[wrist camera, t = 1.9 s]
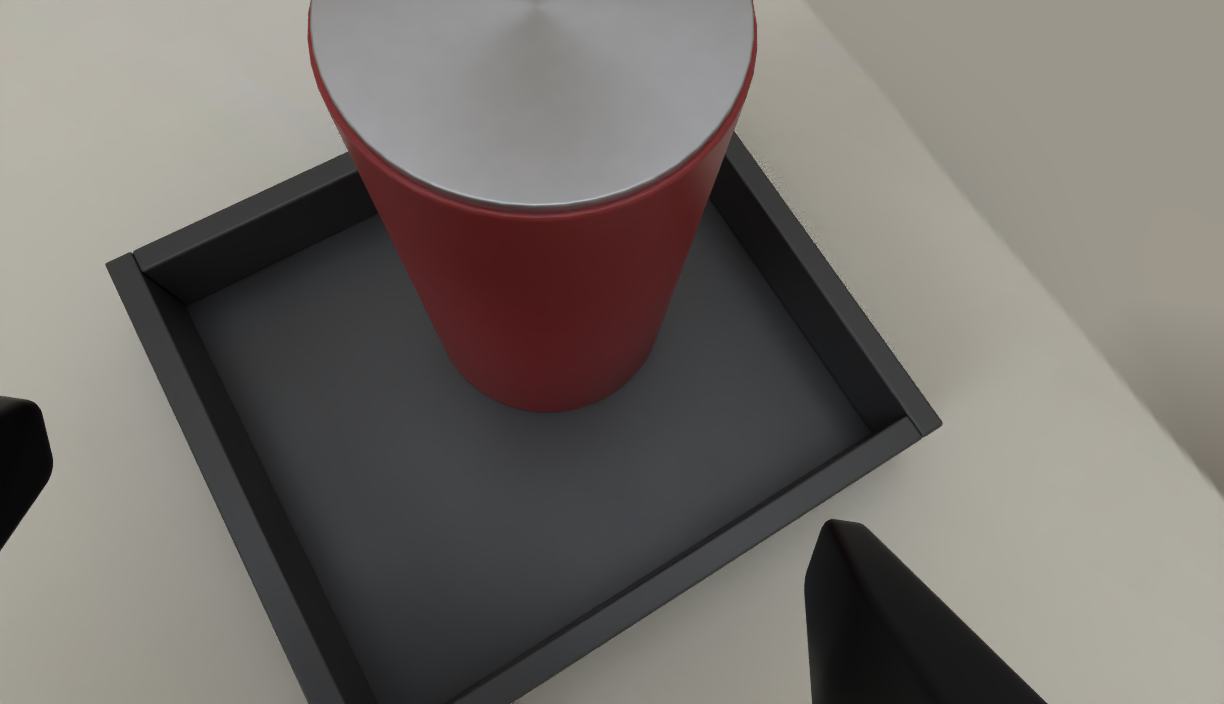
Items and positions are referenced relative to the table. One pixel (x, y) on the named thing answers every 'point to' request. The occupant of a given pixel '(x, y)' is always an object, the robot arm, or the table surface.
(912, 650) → the robot arm
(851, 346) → the tray
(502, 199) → the can
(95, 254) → the table surface
